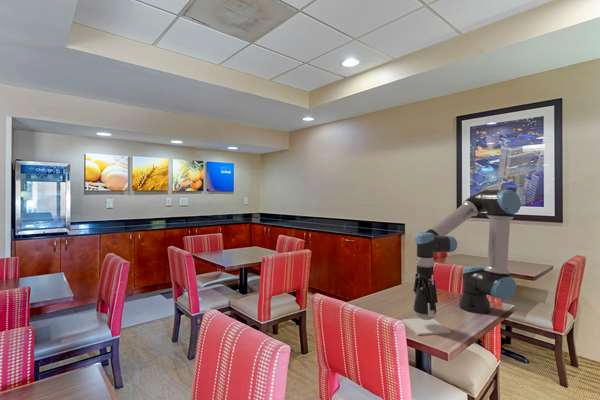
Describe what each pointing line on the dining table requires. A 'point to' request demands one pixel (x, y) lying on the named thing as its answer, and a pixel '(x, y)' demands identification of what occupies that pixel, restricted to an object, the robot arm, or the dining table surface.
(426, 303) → the pump dispenser
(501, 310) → the dining table surface
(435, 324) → the ceramic tile
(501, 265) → the robot arm
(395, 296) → the dining table surface
